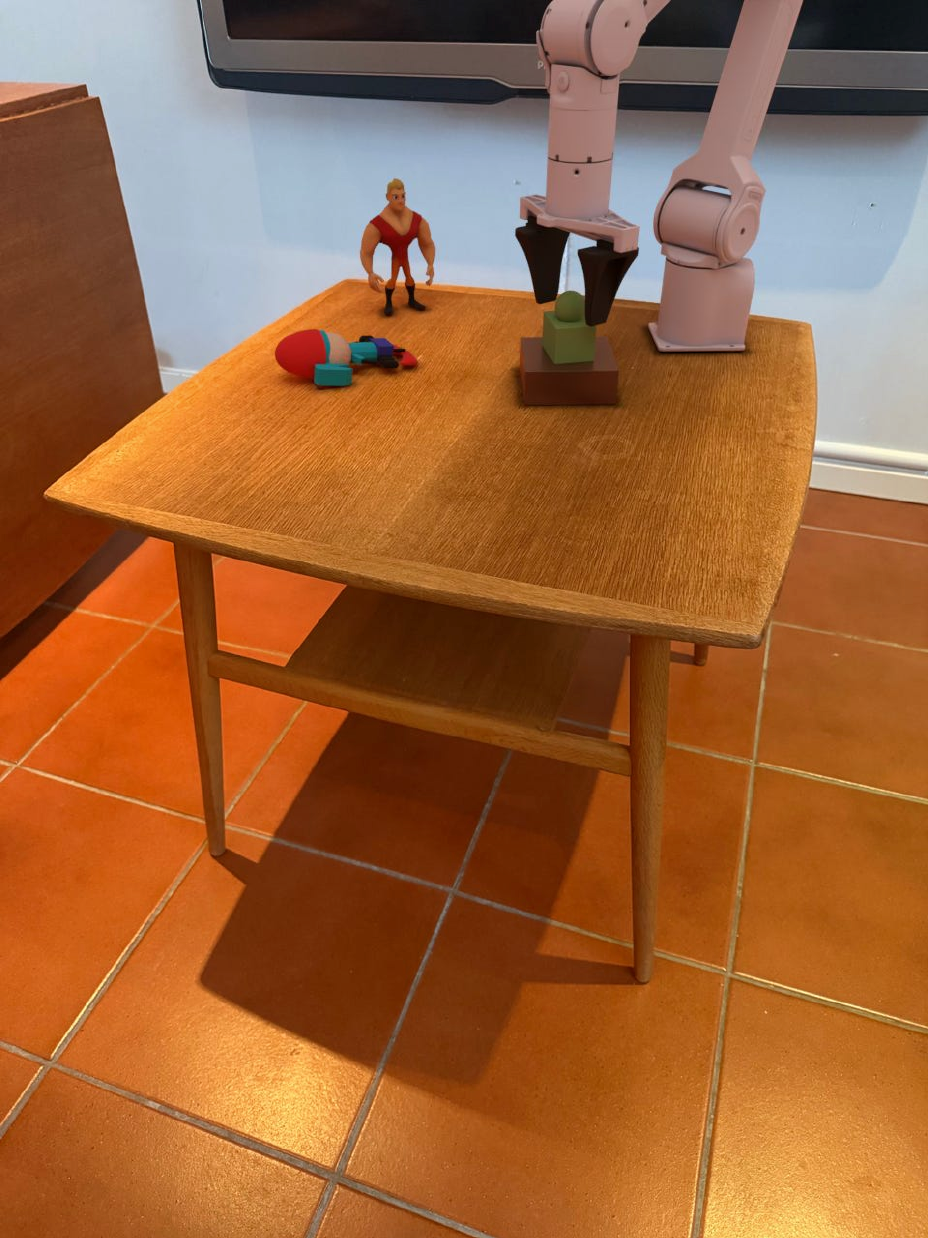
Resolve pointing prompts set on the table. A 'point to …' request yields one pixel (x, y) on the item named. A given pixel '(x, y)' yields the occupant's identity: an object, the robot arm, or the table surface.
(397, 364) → the toy figure
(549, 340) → the green toy
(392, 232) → the action figure
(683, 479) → the table surface
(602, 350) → the walnut block
